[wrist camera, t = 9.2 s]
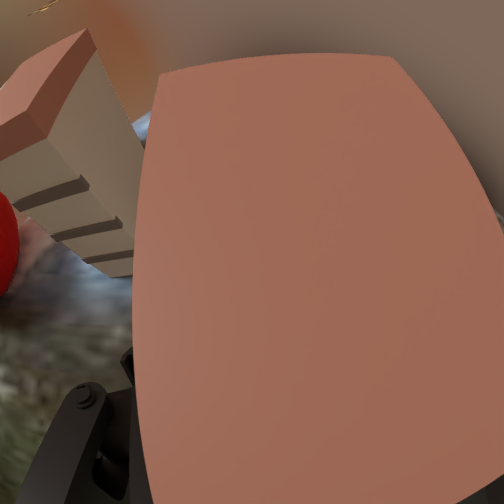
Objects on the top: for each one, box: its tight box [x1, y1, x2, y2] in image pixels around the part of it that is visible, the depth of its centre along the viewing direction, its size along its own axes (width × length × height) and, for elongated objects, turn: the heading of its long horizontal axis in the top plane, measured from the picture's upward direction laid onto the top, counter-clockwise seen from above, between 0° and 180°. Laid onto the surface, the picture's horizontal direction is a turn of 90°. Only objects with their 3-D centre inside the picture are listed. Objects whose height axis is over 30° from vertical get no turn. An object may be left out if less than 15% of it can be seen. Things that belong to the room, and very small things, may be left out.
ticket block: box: [0, 28, 145, 278], centre depth 15 cm, size 5×7×15 cm, turn 7°
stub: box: [132, 53, 504, 504], centre depth 9 cm, size 4×7×14 cm, turn 7°
